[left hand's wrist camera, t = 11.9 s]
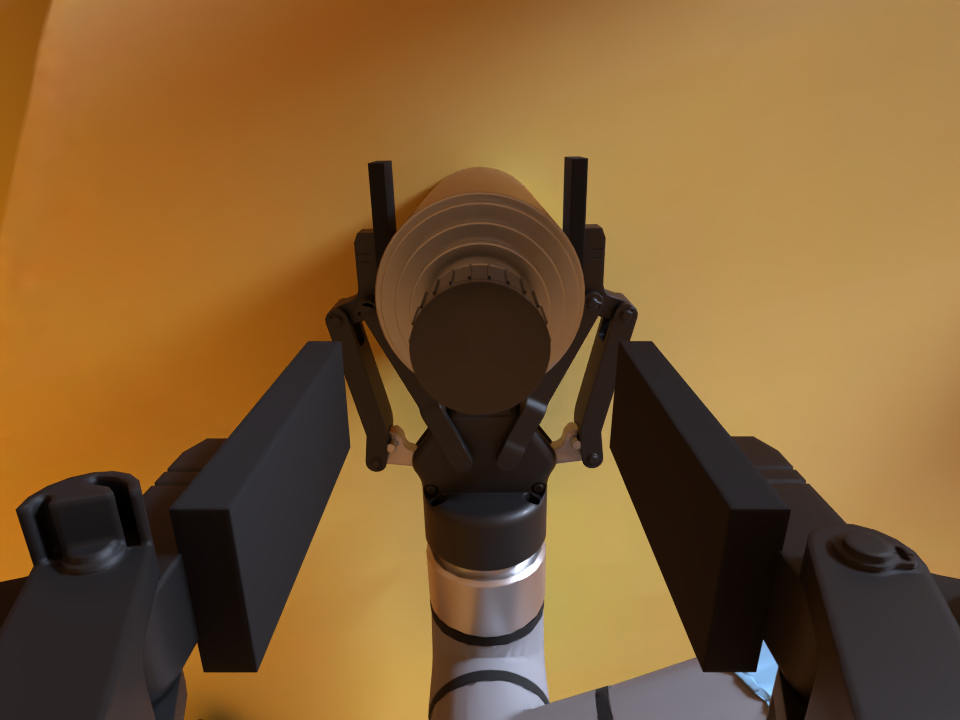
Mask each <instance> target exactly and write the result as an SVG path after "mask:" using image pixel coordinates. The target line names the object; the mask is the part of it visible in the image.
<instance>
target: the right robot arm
mask: <svg viewBox="0 0 960 720" xmlns="http://www.w3.org/2000/svg"><path fill="white" fill-rule="evenodd" d="M368 170H369V182H370V194H371V206H372V218H373V229H362V230H360V231H359V232H358V233H357V235H356V239H355V242H354V246H355V257H356V268H357V278H358V294H356V295H354V296H351V297H349V298H343V299H340V300H339V301H338V302H337V303H336V304H335V305H334V307H333V308H332V309H331V310H330V311H329V313H328V314H327V315H326V319H325V320H326V325H327V328H328V330H329V333H330V336H331V339H332V341H341V344H342V355H343V367H344V375H345V377H346V380H347V383H348V386H349V388H350V391H351V394H352V397H353V400H354V402H355V405H356V408H357V411H358V413H359V416H360V419H361V422H362V424H363V427H364V430H365V433H366V436H367V441H366V465H367V467H368V468H369V469H370V470H372V471H375V472H378V471H382V470H383V469H384V468H385V467H386V464H398V465H409V466H413V468H414V470H415V472H416V473H417V474H418V476H419V477H420V479H421V482H422V486H423V501H424V517H425V533H426V540H427V542H428V544H427V565H428V578H429V591H430V604H431V611H432V642H433V664H432V677H431V689H430V700H429V714H428V718H429V720H766V716H767V712H768V708H769V703H770V699H771V695H772V690H773V686H774V682H775V677H776V673H777V669H778V665H777V663H776V661H775V660H774V658H773V656H772V654H771V652H770V651H769V649H768V647H767V645H766V643H765V642H764V640H763V643H762V648H761V652H760V657H759V662H758V666H757V671H756V672H703V671H702V669H701V667H700V664H699V662H698V659H697V657H696V658H693V659H690V660H687V661H684V662H681V663H678V664H675V665H672V666H669V667H666V668H663V669H660V670H657V671H654V672H651V673H648V674H645V675H642V676H639V677H636V678H633V679H630V680H627V681H624V682H621V683H618V684H615V685H612V686H611V685H610V686H605V687H602V688H599V689H595V690H592V691H588V692H585V693H582V694H579V695H575V696H572V697H569V698H565V699H562V700H559V701H555V702H552V703H549V696H548V688H547V680H546V672H545V662H544V628H543V608H544V596H545V553H546V544H545V541H544V540H545V537H546V510H547V481H548V478H549V475H550V473H551V472H552V470H553V469H554V467H555V465H556V463H564V462H573V461H581V460H582V461H583V464H584V465H585V466H586V467H588V468H595V467H598V466H599V465H601V463H602V461H603V450H602V438H601V430H602V427H603V424H604V421H605V418H606V415H607V411H608V408H609V405H610V402H611V399H612V396H613V392H614V389H615V379H616V367H617V355H618V344H619V341H630V339H631V335H632V332H633V329H634V326H635V323H636V320H637V315H638V313H637V310H636V308H635V307H634V306H633V305H632V303H631V302H630V301H629V300H628V299H627V298H626V297H625V296H624V295H623V294H621V293H614V292H611V291H608V290H606V289H604V287H603V276H604V256H605V235H604V232H603V229H602V228H601V227H600V226H599V225H597V224H585V220H586V195H587V170H588V158H583V157H565V164H564V201H563V232H564V233H565V235H566V236H567V237H568V239H569V241H570V242H571V244H572V246H573V247H574V249H575V252H576V254H577V256H578V259H579V261H580V265H581V268H582V272H583V278H584V285H585V302H584V310H583V315H582V319H581V323H580V326H579V329H578V331H577V333H576V336H575V338H574V340H573V342H572V343H571V345H570V347H569V348H568V350H567V351H566V353H565V354H564V355H563V357H562V358H561V359H560V360H559V361H558V362H557V363H556V364H555V365H554V366H553V367H552V368H551V369H550V370H549V371H548V372H546V373H545V375H544V377H543V379H542V381H541V383H540V384H539V385H538V387H537V388H536V389H535V391H534V392H533V393H532V394H531V395H530V396H529V397H527V398H526V399H525V400H523V401H522V402H521V403H519V404H517V405H516V406H514V407H512V408H509V409H507V410H504V411H501V412H498V413H493V414H483V415H477V414H467V413H462V412H459V411H456V410H453V409H451V408H448V407H446V406H444V405H443V404H441V403H439V402H438V401H437V400H435V399H434V398H433V397H431V396H430V395H429V394H428V393H427V392H426V391H425V389H424V388H423V387H422V385H421V384H420V383H419V381H418V379H417V377H416V376H415V373H414V372H412V371H411V370H410V369H409V368H408V367H407V366H406V365H405V364H404V363H403V362H402V361H401V360H400V359H399V358H398V357H397V355H396V354H395V353H394V351H393V350H392V349H391V347H390V345H389V343H388V342H387V340H386V338H385V336H384V333H383V331H382V329H381V326H380V323H379V319H378V315H377V310H376V302H375V284H376V278H377V272H378V268H379V265H380V261H381V258H382V256H383V254H384V252H385V249H386V247H387V245H388V244H389V242H390V241H391V239H392V237H393V236H394V234H395V233H396V219H395V204H394V190H393V175H392V161H375V162H371V163H368ZM598 316H601V320H600V323H599V327H598V330H597V334H596V337H595V340H594V344H593V347H592V351H591V354H590V357H589V361H588V364H587V368H586V371H585V374H584V378H583V381H582V385H581V388H580V391H579V395H578V398H577V402H576V406H575V412H574V423H573V422H570V423H568V424H567V425H566V426H565V428H564V429H563V434H562V436H561V438H560V439H559V440H557V441H554V442H552V441H551V439H550V438H549V437H548V435H547V434H546V433H545V432H544V431H543V429H542V428H541V427H540V426H539V424H540V422H541V421H542V419H543V417H544V415H545V412H546V408H547V405H548V403H549V401H550V399H551V398H552V396H553V394H554V392H555V391H556V389H557V387H558V385H559V384H560V382H561V380H562V378H563V377H564V375H565V373H566V371H567V370H568V368H569V366H570V364H571V363H572V361H573V359H574V357H575V356H576V354H577V352H578V350H579V349H580V347H581V345H582V343H583V342H584V340H585V338H586V336H587V335H588V333H589V331H590V329H591V328H592V326H593V324H594V322H595V321H596V319H597V317H598ZM362 321H365V322H366V324H367V325H368V327H369V329H370V330H371V332H372V333H373V335H374V337H375V338H376V340H377V341H378V343H379V345H380V346H381V348H382V349H383V351H384V353H385V354H386V356H387V357H388V359H389V361H390V362H391V364H392V365H393V367H394V368H395V370H396V372H397V373H398V375H399V376H400V378H401V380H402V381H403V383H404V384H405V386H406V388H407V389H408V391H409V392H410V394H411V396H412V397H413V399H414V400H415V402H416V404H417V405H418V407H419V409H420V413H421V416H422V418H423V420H424V422H425V423H426V425H427V426H428V428H427V429H426V431H425V432H424V433H423V435H422V436H421V437H420V439H419V440H418V442H417V443H416V444H413V443H410V442H409V441H408V440H407V439H406V437H405V433H404V431H403V430H402V429H401V428H400V427H399V426H398V425H394V426H393V415H392V410H391V406H390V403H389V400H388V397H387V394H386V391H385V388H384V386H383V383H382V380H381V377H380V374H379V371H378V368H377V365H376V362H375V359H374V356H373V353H372V350H371V347H370V344H369V341H368V338H367V335H366V332H365V329H364V327H363V324H362Z"/></svg>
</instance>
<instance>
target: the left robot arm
mask: <svg viewBox="0 0 960 720" xmlns="http://www.w3.org/2000/svg"><path fill="white" fill-rule="evenodd" d="M349 449H350V437H349V425H348V414H347V402H346V390H345V379H344V367H343V355H342V344H341V341H308V342H307V343H306V344H305V346H304V347H303V348H302V349H301V351H300V352H299V353H298V354H297V355H296V357H295V358H294V359H293V360H292V361H291V363H290V364H289V365H288V366H287V367H286V369H285V370H284V371H283V372H282V373H281V375H280V376H279V377H278V378H277V379H276V381H275V382H274V383H273V384H272V386H271V387H270V388H269V389H268V390H267V392H266V393H265V394H264V395H263V396H262V398H261V399H260V400H259V401H258V402H257V404H256V405H255V406H254V407H253V408H252V410H251V411H250V412H249V413H248V414H247V416H246V417H245V418H244V419H243V421H242V422H241V423H240V424H239V425H238V427H237V428H236V429H235V430H234V431H233V433H232V434H231V435H230V436H229V437H228V439H205V440H204V441H202V442H200V443H198V444H197V445H195V446H193V447H191V448H190V449H188V450H186V451H184V452H183V453H182V454H181V455H180V456H179V457H178V458H177V459H176V460H175V461H174V462H173V464H172V465H171V466H170V467H169V468H168V471H167V472H164V473H163V474H162V475H161V476H160V477H159V479H158V480H157V481H156V482H155V486H151V487H150V488H149V489H148V490H147V491H146V492H145V494H144V495H142V491H141V487H140V482H139V480H138V479H136V478H135V477H134V476H132V475H131V474H128V473H122V472H116V471H109V472H93V473H88V474H84V475H80V476H75V477H71V478H68V479H65V480H62V481H60V482H57V483H54V484H52V485H49V486H47V487H45V488H43V489H42V490H40V491H38V492H36V493H35V494H33V495H31V496H30V497H28V498H27V499H26V500H25V501H24V502H23V503H22V504H21V505H20V506H19V507H18V508H17V509H16V512H17V515H18V519H19V522H20V525H21V528H22V531H23V534H24V537H25V540H26V544H27V547H28V550H29V553H30V556H31V559H32V562H33V565H34V567H33V569H32V570H31V572H30V574H29V576H27V577H23V578H18V579H13V580H8V581H3V582H0V720H184V714H185V707H186V700H187V690H186V682H185V677H184V673H183V669H182V668H183V666H184V665H185V663H186V661H187V659H188V657H189V656H190V654H191V652H192V650H193V648H194V647H195V645H196V643H198V648H199V652H200V657H201V662H202V666H203V671H204V672H257V671H258V669H259V667H260V664H261V662H262V659H263V657H264V654H265V652H266V650H267V647H268V645H269V642H270V640H271V638H272V635H273V633H274V630H275V628H276V625H277V623H278V621H279V618H280V616H281V613H282V611H283V609H284V606H285V604H286V601H287V599H288V596H289V594H290V592H291V589H292V587H293V584H294V582H295V580H296V577H297V575H298V572H299V570H300V567H301V565H302V563H303V560H304V558H305V555H306V553H307V551H308V548H309V546H310V543H311V541H312V538H313V536H314V534H315V531H316V529H317V526H318V524H319V522H320V519H321V517H322V514H323V512H324V510H325V507H326V505H327V502H328V500H329V497H330V495H331V493H332V490H333V488H334V485H335V483H336V481H337V478H338V476H339V473H340V471H341V468H342V466H343V464H344V461H345V459H346V456H347V454H348V452H349ZM610 449H611V452H612V454H613V456H614V459H615V461H616V464H617V466H618V468H619V471H620V473H621V476H622V478H623V481H624V483H625V485H626V488H627V490H628V493H629V495H630V497H631V500H632V502H633V505H634V507H635V510H636V512H637V514H638V517H639V519H640V522H641V524H642V526H643V529H644V531H645V534H646V536H647V538H648V541H649V543H650V546H651V548H652V551H653V553H654V555H655V558H656V560H657V563H658V565H659V567H660V570H661V572H662V575H663V577H664V580H665V582H666V584H667V587H668V589H669V592H670V594H671V596H672V599H673V601H674V604H675V606H676V609H677V611H678V613H679V616H680V618H681V621H682V623H683V625H684V628H685V630H686V633H687V635H688V638H689V640H690V642H691V645H692V647H693V650H694V652H695V654H696V657H697V659H698V662H699V664H700V667H701V669H702V671H703V672H756V671H757V666H758V662H759V657H760V652H761V648H762V643H763V640H764V642H765V643H766V645H767V647H768V649H769V651H770V652H771V654H772V656H773V658H774V660H775V661H776V663H777V665H778V669H777V673H776V677H775V682H774V686H773V690H772V695H771V699H770V703H769V708H768V712H767V716H766V720H960V579H956V578H951V577H946V576H941V575H936V574H933V573H930V571H929V569H928V567H927V566H926V564H925V563H924V562H923V561H922V560H921V558H920V557H919V556H918V555H917V554H916V553H915V552H914V551H913V550H911V549H910V548H908V547H907V546H906V545H904V544H903V543H901V542H900V541H898V540H897V539H894V538H892V537H890V536H888V535H885V534H883V533H881V532H879V531H876V530H873V529H869V528H865V527H862V526H858V525H854V524H846V523H845V522H844V520H843V519H842V518H841V517H840V516H839V515H838V514H837V513H836V512H835V511H834V510H833V509H832V508H831V507H830V506H829V505H828V503H827V502H826V501H825V500H824V499H823V498H822V497H821V496H820V495H819V494H818V493H817V492H816V491H815V490H814V489H813V488H812V486H811V485H810V484H806V480H805V479H804V478H803V477H802V476H801V475H800V474H799V473H798V472H797V470H793V466H792V465H791V464H790V463H789V462H788V461H787V460H786V459H785V458H784V457H783V456H782V455H781V453H780V452H779V451H778V450H776V449H774V448H773V447H771V446H769V445H767V444H766V443H764V442H762V441H760V440H759V439H757V438H755V437H753V436H730V435H729V434H728V433H727V431H726V430H725V429H724V428H723V427H722V425H721V424H720V423H719V422H718V421H717V419H716V418H715V417H714V416H713V414H712V413H711V412H710V411H709V410H708V408H707V407H706V406H705V405H704V404H703V402H702V401H701V400H700V399H699V398H698V396H697V395H696V394H695V393H694V392H693V390H692V389H691V388H690V387H689V386H688V384H687V383H686V382H685V381H684V379H683V378H682V377H681V376H680V375H679V373H678V372H677V371H676V370H675V369H674V367H673V366H672V365H671V364H670V363H669V361H668V360H667V359H666V358H665V357H664V355H663V354H662V353H661V352H660V351H659V349H658V348H657V347H656V346H655V344H654V343H653V342H652V341H619V344H618V355H617V367H616V379H615V390H614V402H613V414H612V425H611V437H610Z"/></svg>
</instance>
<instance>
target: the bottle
mask: <svg viewBox="0 0 960 720" xmlns="http://www.w3.org/2000/svg"><path fill="white" fill-rule="evenodd" d="M469 264H472V265H487V264H490V266H494V267H498V268H501V269H504V270H505V268H506V269H508V271H509V272H511V273H513V274H514V275H516V276H517V277H519V278H523V280H524V282H525V283H526V284H527V285H528V287H529V288H530V289H531V290H532V291H533V290H534V291H535V293H536V296H537V299H538V302H539V305H540V306H542V307H543V310H544V313H545V315H546V318H547V321H548V324H546V325H547V328H548V331H549V334H550V337H551V353H550V361H549V364H548V368H547V371H546V372H548V371H549V370H550V369H551V368H552V367H553V366H554V365H555V364H556V363H557V362H558V361H559V360H560V359H561V358H562V357H563V355H564V354H565V353H566V351H567V350H568V348H569V347H570V345H571V343H572V342H573V340H574V338H575V336H576V333H577V331H578V329H579V326H580V323H581V319H582V315H583V310H584V302H585V285H584V278H583V272H582V268H581V265H580V261H579V259H578V256H577V254H576V252H575V249H574V247H573V246H572V244H571V242H570V241H569V239H568V237H567V236H566V235H565V233H564V232H563V231H562V230H561V228H560V227H559V226H558V225H557V224H556V222H555V221H554V220H553V219H552V218H551V216H550V215H549V214H548V213H547V212H546V211H545V209H544V208H543V207H542V206H541V205H540V204H539V202H538V201H537V200H536V199H535V198H534V197H533V195H532V194H531V193H530V192H529V191H528V190H527V188H526V187H525V186H524V185H523V184H522V183H521V182H519V181H518V180H517V179H515V178H514V177H513V176H511V175H509V174H507V173H505V172H502V171H499V170H496V169H492V168H484V167H477V168H468V169H464V170H461V171H458V172H455V173H453V174H451V175H449V176H448V177H446V178H445V179H443V180H442V181H441V182H439V183H438V184H437V185H436V186H435V187H434V188H433V190H432V191H431V192H430V193H429V194H428V195H427V197H426V198H425V199H424V200H423V201H422V202H421V204H420V205H419V206H418V207H417V208H416V209H415V211H414V212H413V213H412V214H411V215H410V217H409V218H408V219H407V220H406V221H405V222H404V224H403V225H402V226H401V227H400V228H399V230H398V231H397V232H396V233H395V234H394V236H393V237H392V239H391V241H390V242H389V244H388V245H387V247H386V249H385V252H384V254H383V256H382V258H381V261H380V265H379V268H378V272H377V278H376V284H375V302H376V310H377V315H378V319H379V323H380V326H381V329H382V331H383V333H384V336H385V338H386V340H387V342H388V343H389V345H390V347H391V349H392V350H393V351H394V353H395V354H396V355H397V357H398V358H399V359H400V360H401V361H402V362H403V363H404V364H405V365H406V366H407V367H408V368H409V369H410V370H411V371H412V372H414V371H413V368H412V365H411V361H410V354H409V338H410V335H411V331H412V328H413V325H411V324H412V321H413V318H414V315H415V313H416V310H417V307H420V304H421V301H422V298H423V295H424V293H425V291H426V292H428V290H429V289H430V288H431V287H432V285H433V284H434V283H435V282H436V279H437V278H438V279H440V278H441V277H443V276H444V275H446V274H447V273H449V272H451V270H452V269H454V270H456V269H459V268H462V267H466V266H469Z"/></svg>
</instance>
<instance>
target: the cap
mask: <svg viewBox="0 0 960 720" xmlns="http://www.w3.org/2000/svg"><path fill="white" fill-rule="evenodd" d="M546 324H548V321H547V318H546V315H545V313H544V310H543V307H542V306H540V305H539V302H538V299H537V296H536V293H535V291H534V290H533V291H532V290H531V289H530V288H529V287H528V285H527V284H526V283H525V282H524V280H523V278H519V277H517V276H516V275H514V274H513V273H511V272H509V271H508V269H506V268H505V270H504V269H501V268H498V267H494V266H490V264H487V265H472V264H469V266H466V267H462V268H459V269H456V270H454V269H452V270H451V272H449V273H447V274H446V275H444V276H443V277H441V278H440V279H438V278H437V279H436V282H435V283H434V284H433V285H432V287H431V288H430V289H429V290H428V292H426V291H425V293H424V295H423V298H422V301H421V304H420V307H417V310H416V313H415V315H414V318H413V321H412V324H411V325H413V328H412V331H411V335H410V338H409V354H410V361H411V365H412V368H413V371H414V373H415V376H416V377H417V379H418V381H419V383H420V384H421V385H422V387H423V388H424V389H425V391H426V392H427V393H428V394H429V395H430V396H431V397H433V398H434V399H435V400H437V401H438V402H439V403H441V404H443V405H444V406H446V407H448V408H451V409H453V410H456V411H459V412H462V413H467V414H477V415H483V414H493V413H498V412H501V411H504V410H507V409H509V408H512V407H514V406H516V405H517V404H519V403H521V402H522V401H523V400H525V399H526V398H527V397H529V396H530V395H531V394H532V393H533V392H534V391H535V389H536V388H537V387H538V385H539V384H540V383H541V381H542V379H543V377H544V375H545V373H546V371H547V368H548V364H549V361H550V353H551V337H550V334H549V331H548V328H547V325H546Z"/></svg>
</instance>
